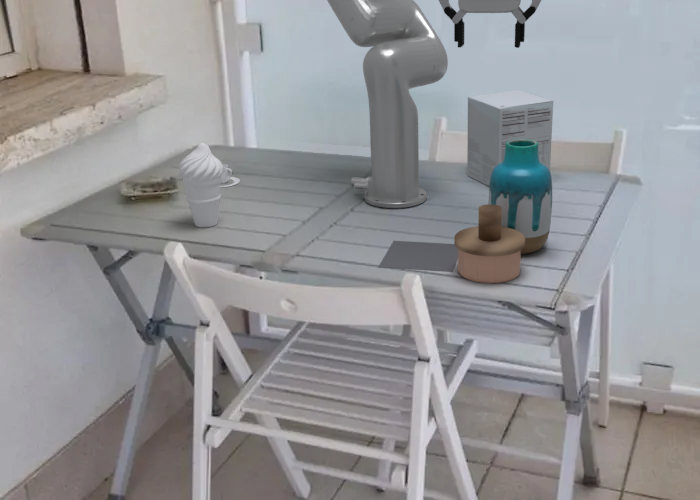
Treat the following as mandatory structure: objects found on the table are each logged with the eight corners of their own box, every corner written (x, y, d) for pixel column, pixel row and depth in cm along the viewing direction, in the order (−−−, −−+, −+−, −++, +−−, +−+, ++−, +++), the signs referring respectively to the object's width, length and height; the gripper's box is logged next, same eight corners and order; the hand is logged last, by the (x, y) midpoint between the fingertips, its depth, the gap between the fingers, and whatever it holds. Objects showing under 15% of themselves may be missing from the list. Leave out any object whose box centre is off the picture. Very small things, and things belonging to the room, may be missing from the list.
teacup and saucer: (194, 183, 208) (192, 165, 206) (224, 175, 212) (222, 158, 211) (217, 191, 201) (215, 173, 200) (247, 183, 206) (246, 165, 205)
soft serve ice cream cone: (192, 234, 176) (183, 151, 170) (178, 221, 183) (169, 141, 177) (234, 226, 179) (227, 144, 174) (219, 214, 186) (212, 135, 181)
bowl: (454, 284, 150) (454, 252, 148) (463, 261, 159) (463, 231, 157) (517, 288, 148) (518, 256, 146) (522, 264, 156) (523, 234, 154)
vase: (481, 241, 167) (483, 136, 160) (540, 238, 168) (544, 133, 161) (495, 264, 157) (497, 153, 150) (557, 260, 158) (562, 149, 151)
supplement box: (551, 182, 198) (555, 100, 192) (497, 192, 193) (499, 108, 187) (517, 167, 209) (520, 89, 203) (465, 175, 205) (466, 95, 199)
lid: (449, 254, 148) (449, 217, 145) (459, 229, 158) (460, 195, 155) (521, 258, 145) (523, 221, 143) (527, 233, 155) (528, 198, 153)
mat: (378, 270, 157) (378, 266, 156) (393, 243, 168) (393, 240, 167) (452, 274, 154) (452, 271, 153) (463, 247, 165) (463, 244, 164)
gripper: (434, -57, 153) (435, 49, 159) (543, -59, 149) (539, 50, 155) (442, -60, 160) (442, 42, 166) (546, -62, 156) (542, 43, 162)
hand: (489, 46), depth 161 cm, fingers open, 9 cm apart
